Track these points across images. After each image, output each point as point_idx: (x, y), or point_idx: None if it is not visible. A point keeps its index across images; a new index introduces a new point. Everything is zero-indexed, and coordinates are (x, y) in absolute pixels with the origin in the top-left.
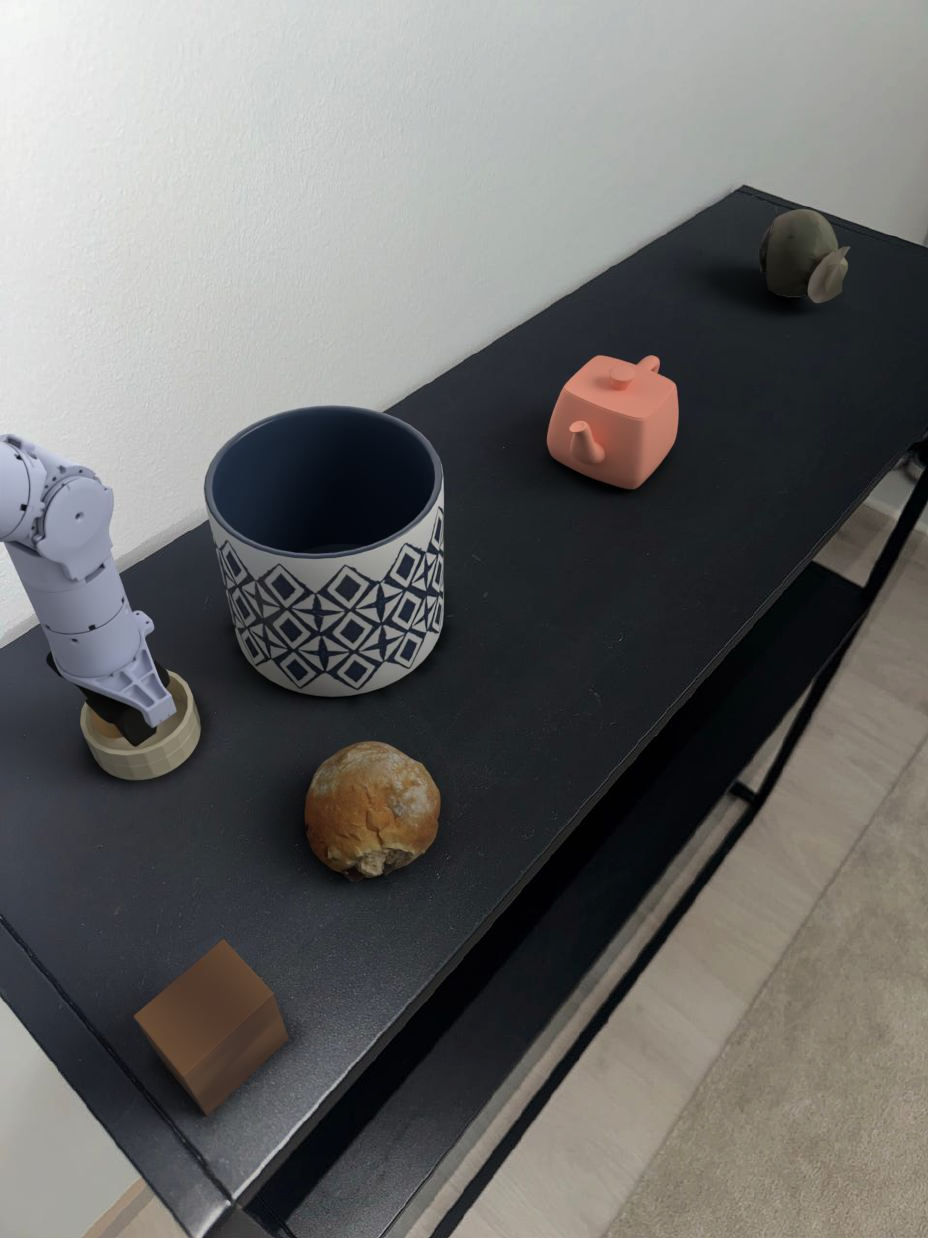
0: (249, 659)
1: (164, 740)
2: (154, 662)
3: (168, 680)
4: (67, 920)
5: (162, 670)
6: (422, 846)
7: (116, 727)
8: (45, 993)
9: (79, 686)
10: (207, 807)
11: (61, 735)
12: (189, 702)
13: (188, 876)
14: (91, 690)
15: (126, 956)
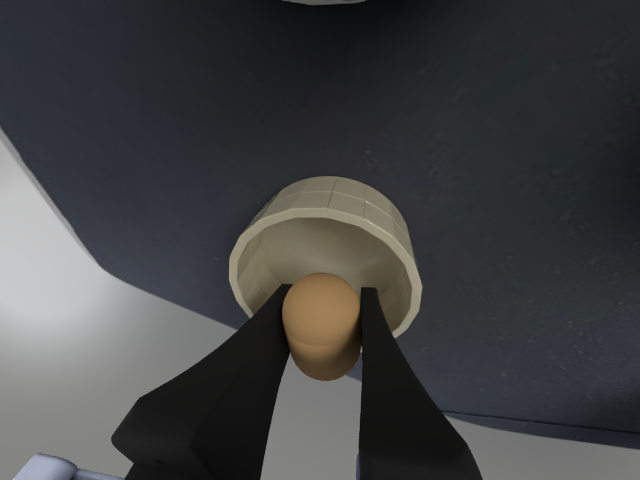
0: (317, 1)
1: (414, 303)
2: (378, 470)
3: (477, 470)
4: (465, 392)
5: (432, 475)
6: None
7: (355, 363)
8: (502, 423)
9: (270, 423)
10: (504, 262)
11: None
12: (376, 233)
13: (555, 325)
14: (275, 383)
15: (551, 391)
